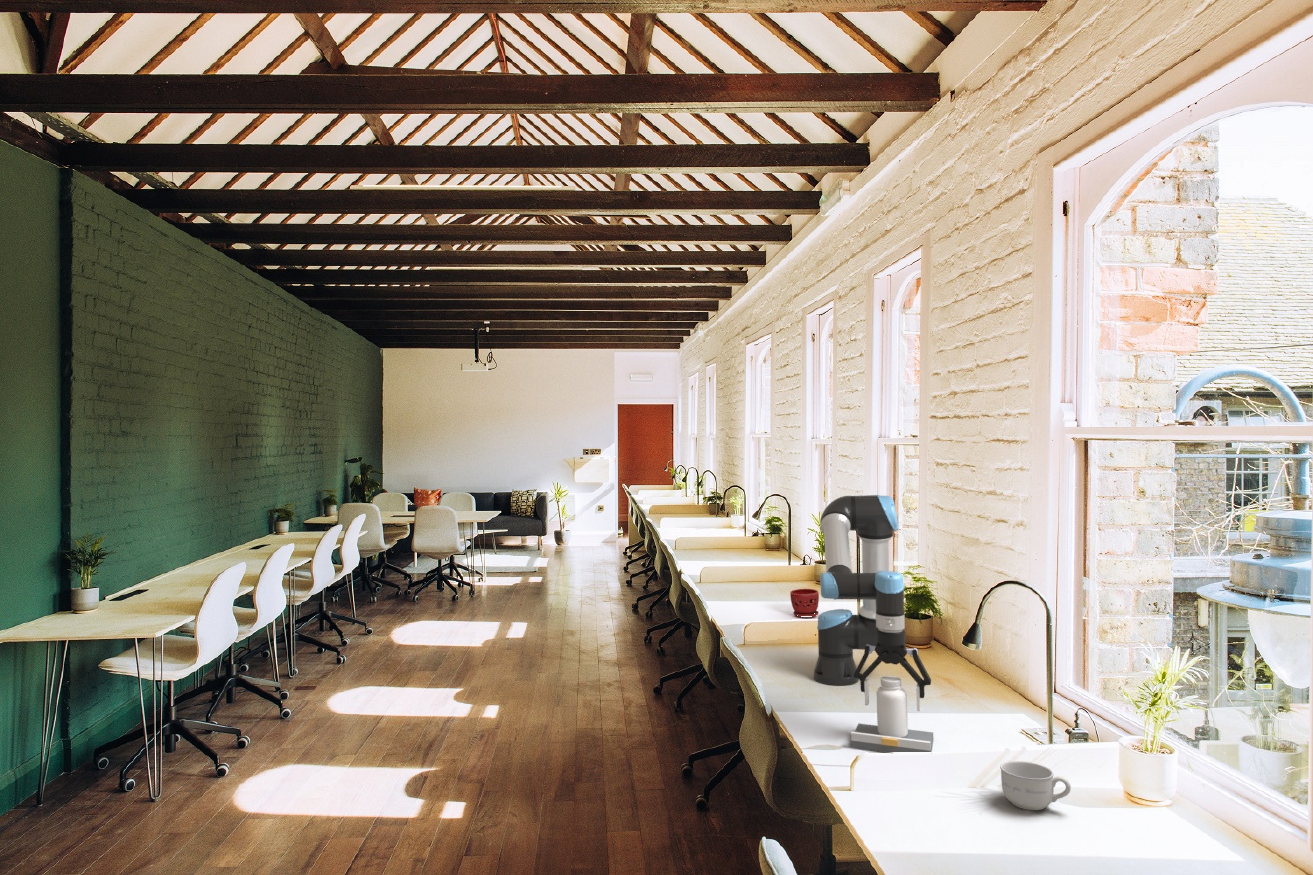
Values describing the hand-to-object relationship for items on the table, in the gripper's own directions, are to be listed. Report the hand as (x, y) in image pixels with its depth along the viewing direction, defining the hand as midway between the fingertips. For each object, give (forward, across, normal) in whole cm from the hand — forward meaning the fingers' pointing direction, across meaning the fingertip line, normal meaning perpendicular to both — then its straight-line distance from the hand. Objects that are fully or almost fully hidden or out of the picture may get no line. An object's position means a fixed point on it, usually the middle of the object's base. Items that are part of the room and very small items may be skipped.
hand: (892, 706), depth 205 cm
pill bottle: (+8, 0, 0) cm, 8 cm away
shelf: (+9, 0, -2) cm, 10 cm away
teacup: (+9, +33, -27) cm, 44 cm away
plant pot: (+11, -54, +138) cm, 148 cm away
